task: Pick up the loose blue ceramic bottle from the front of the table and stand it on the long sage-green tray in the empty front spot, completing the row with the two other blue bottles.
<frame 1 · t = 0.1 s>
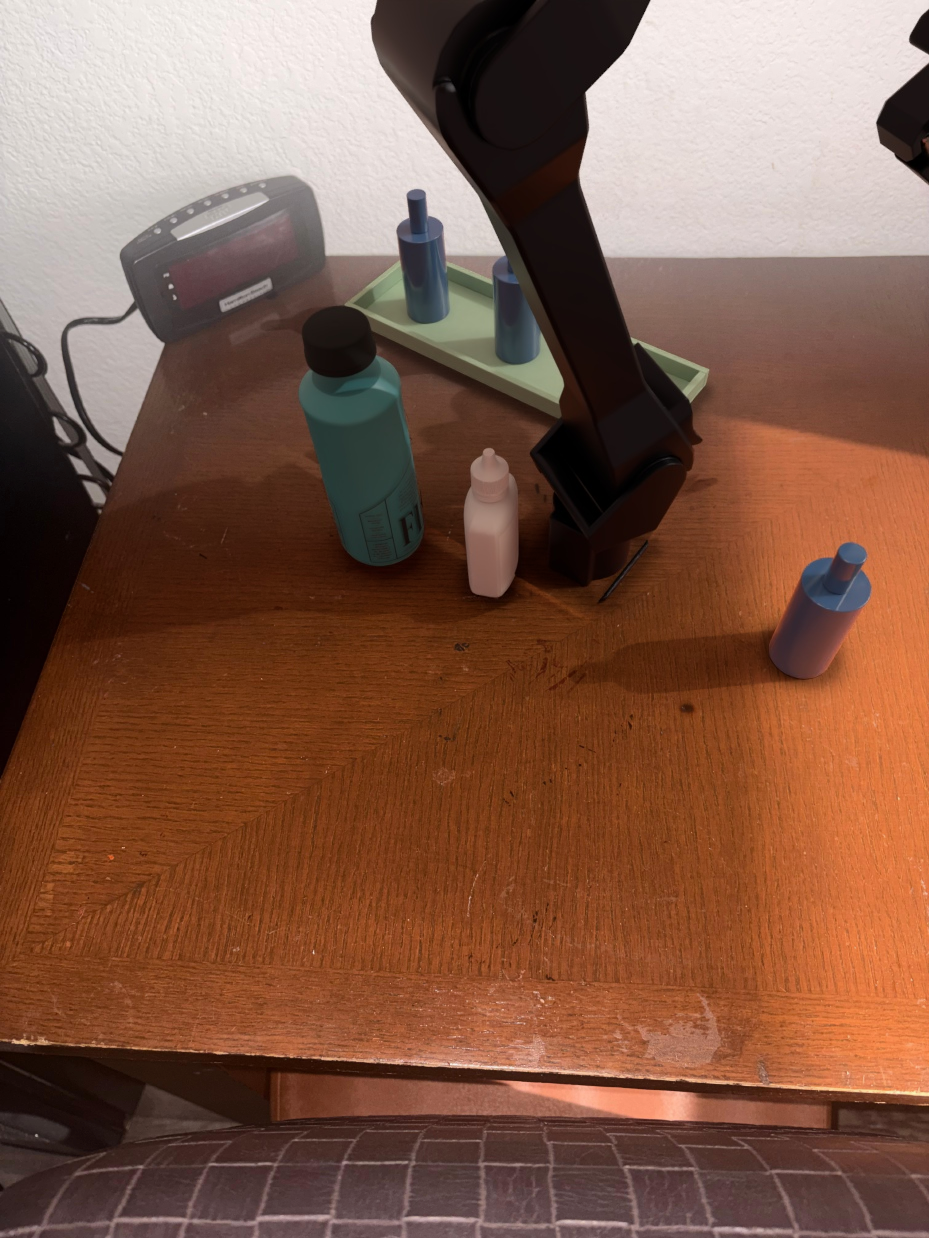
beverage bottle: (385, 547, 64), on the table
blue bottle middle: (517, 349, 74), point 1 cm above the table, touching tray
blue bottle back: (428, 310, 78), point 1 cm above the table, touching tray
blue bottle front: (799, 653, 57), on the table
tray: (517, 356, 75), on the table
eye dropper bottle: (494, 570, 62), on the table
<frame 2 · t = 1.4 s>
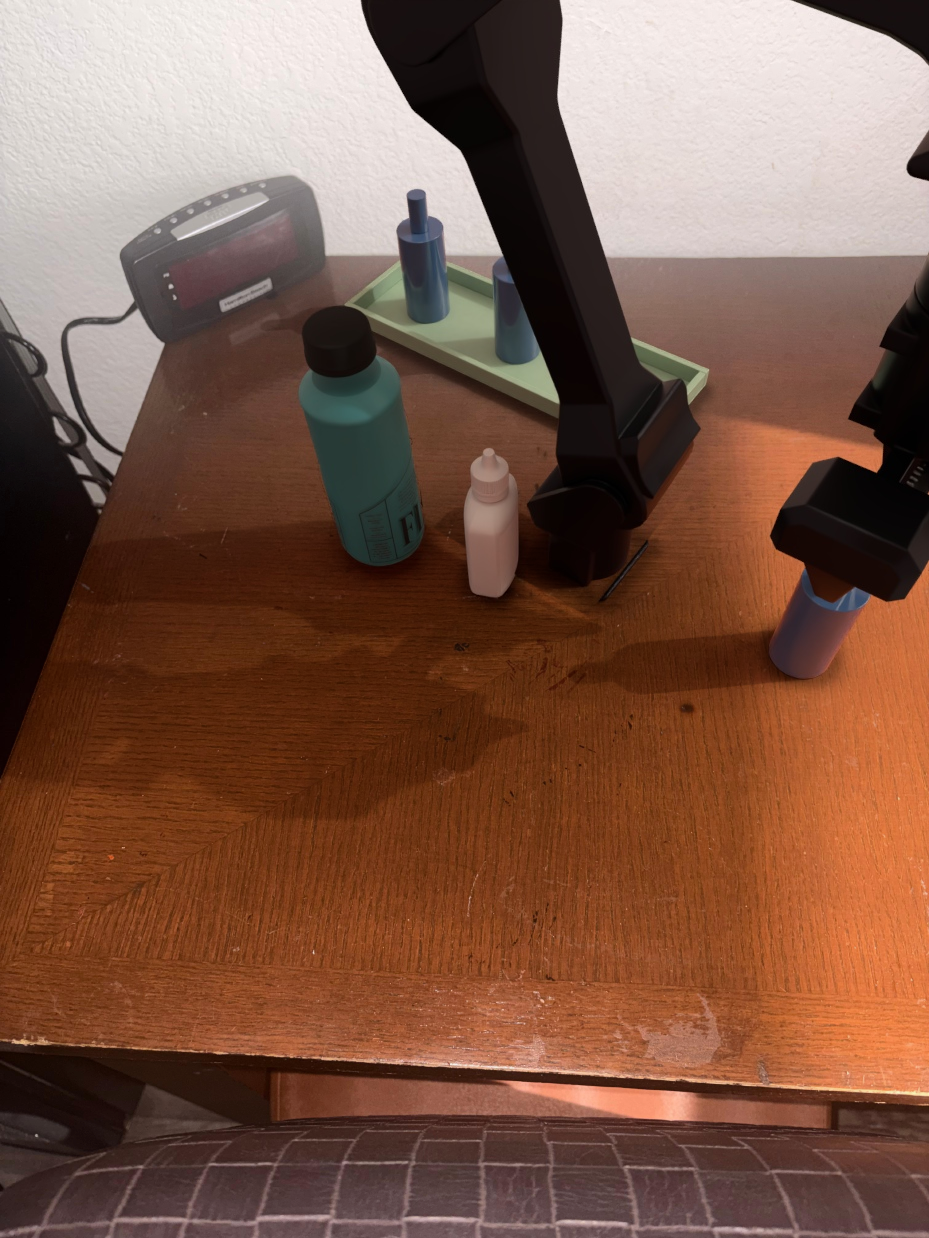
hand: (859, 541, 47), 12 cm above the table, tool pointing down, fingers open, 9 cm apart
nothing on the table moved.
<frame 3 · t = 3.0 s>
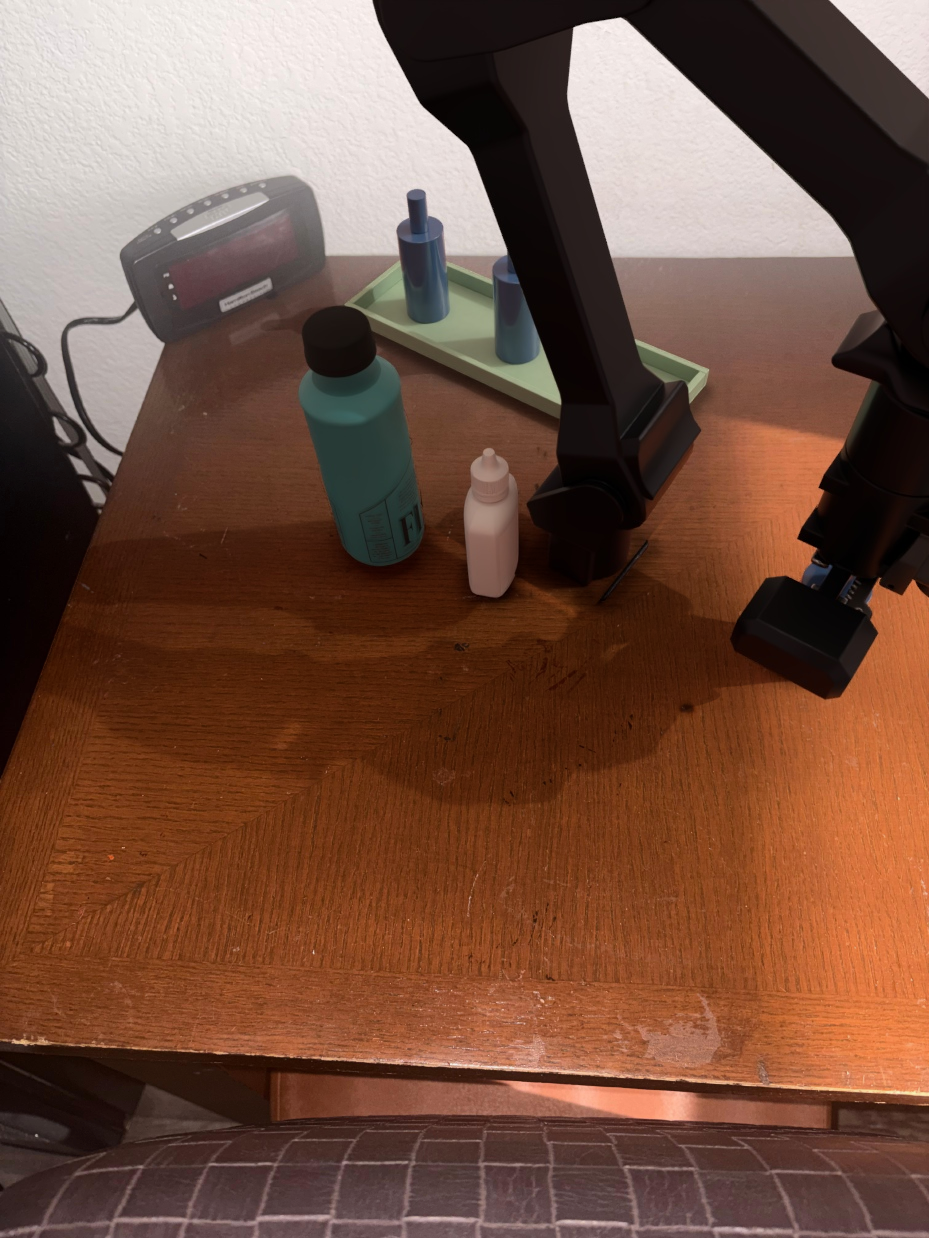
hand: (816, 628, 54), 3 cm above the table, tool pointing down, fingers closed on blue bottle front, 6 cm apart
blue bottle front: (799, 653, 57), on the table, touching gripper
everything else where it was.
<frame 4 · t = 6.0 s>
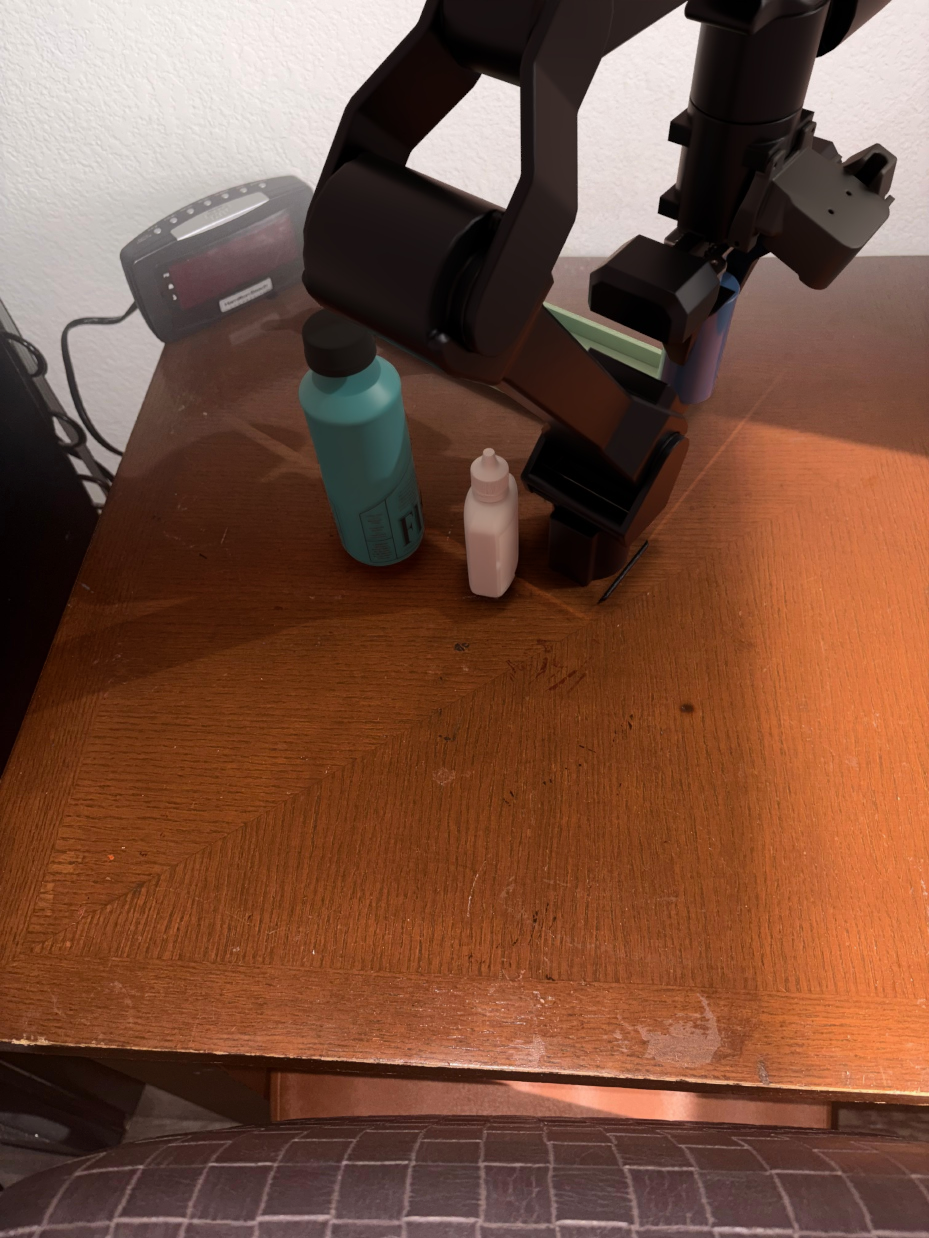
hand: (694, 345, 56), 12 cm above the table, tool pointing down, fingers closed on blue bottle front, 4 cm apart
blue bottle front: (684, 385, 59), point 9 cm above the table, touching gripper
everything else where it was.
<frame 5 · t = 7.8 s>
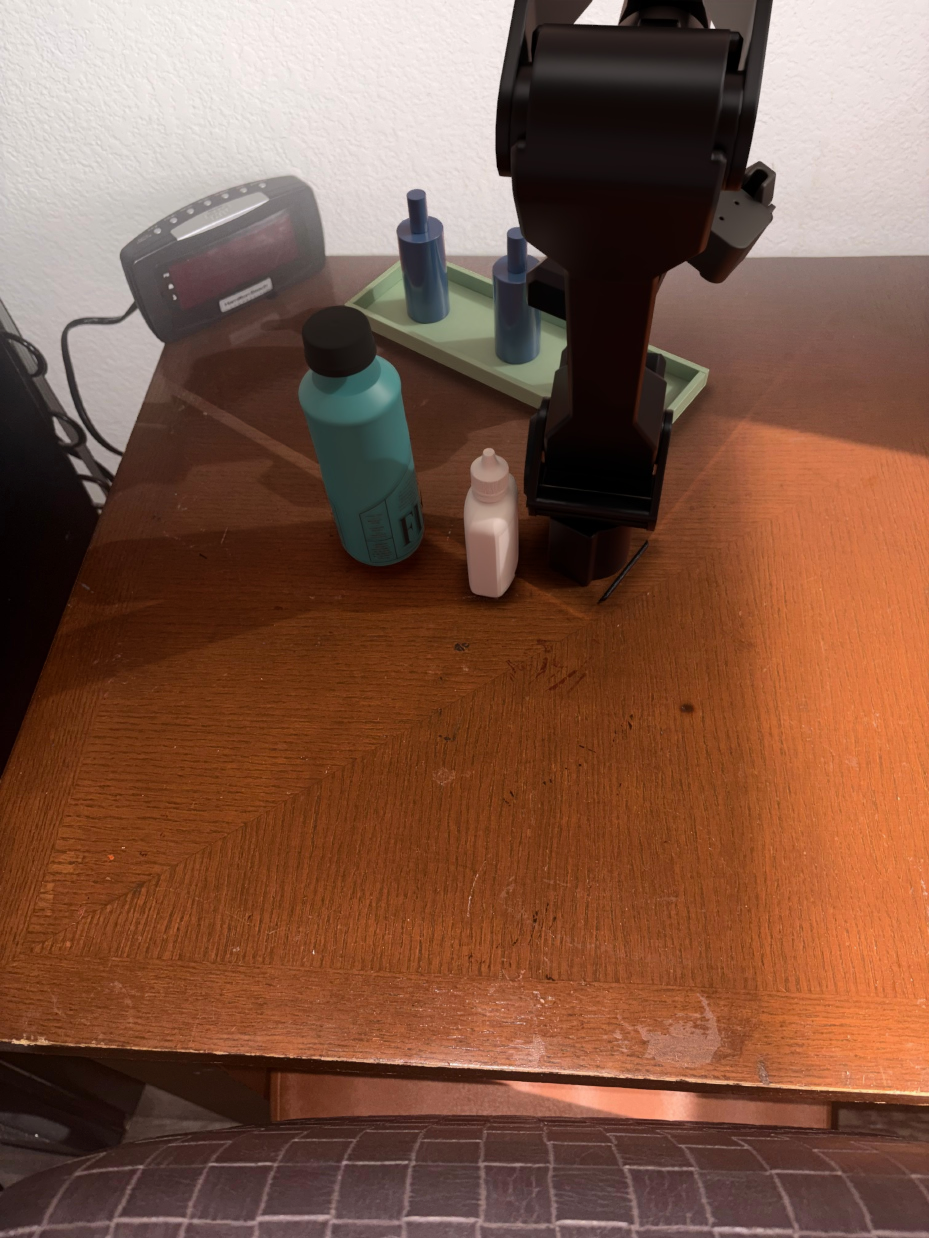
hand: (623, 334, 65), 7 cm above the table, tool pointing down, fingers closed on blue bottle front, 4 cm apart
blue bottle front: (617, 369, 68), point 3 cm above the table, touching gripper
everything else where it was.
when the fingers open (4 cm above the table, at t = 9.2 s): blue bottle front stays where it is, resting on tray.
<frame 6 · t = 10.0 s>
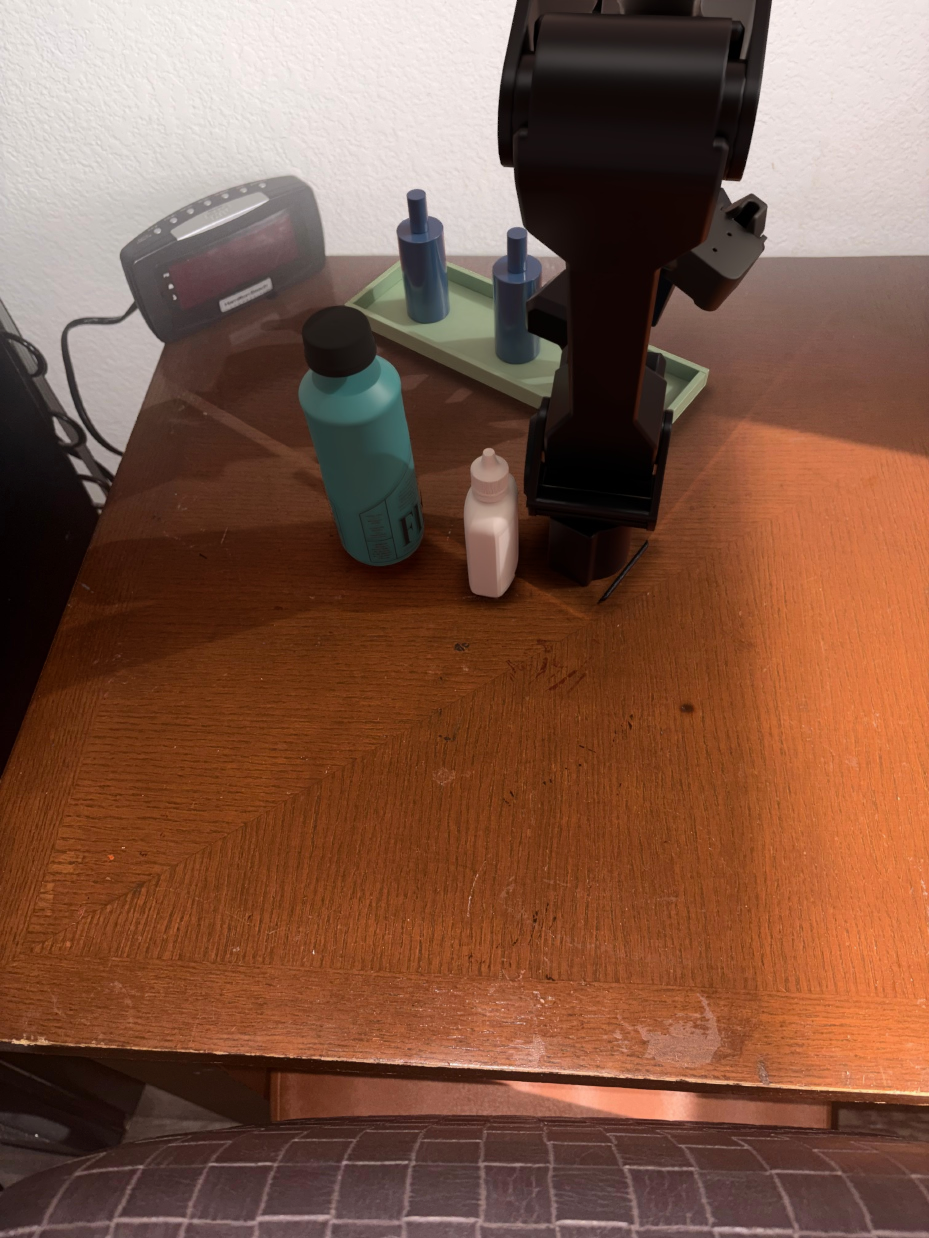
hand: (620, 356, 67), 5 cm above the table, tool pointing down, fingers open, 9 cm apart
blue bottle front: (614, 393, 70), point 1 cm above the table, touching tray
everything else where it was.
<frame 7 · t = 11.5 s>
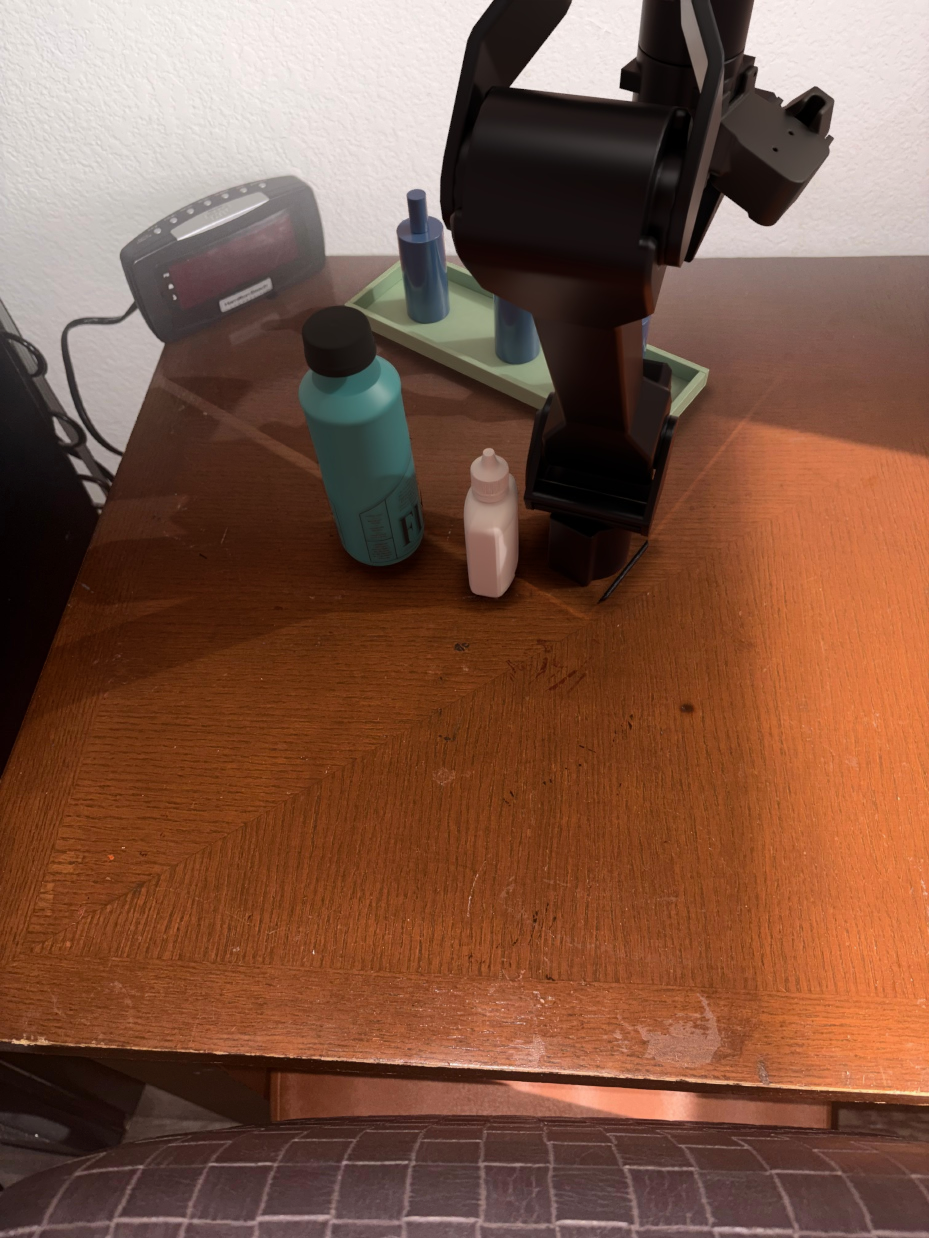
hand: (653, 294, 59), 12 cm above the table, tool pointing down, fingers open, 9 cm apart
nothing on the table moved.
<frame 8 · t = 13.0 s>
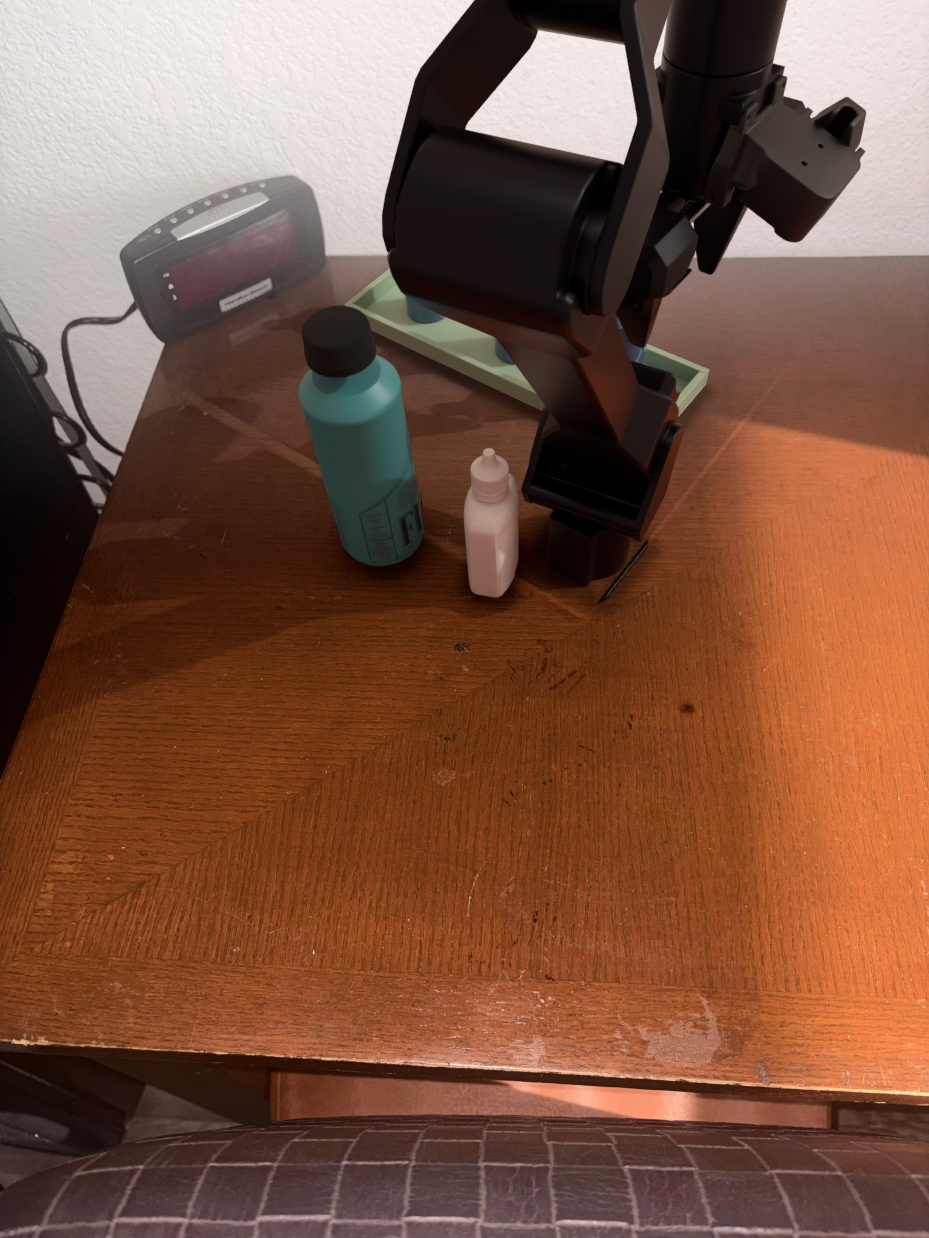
hand: (673, 307, 57), 13 cm above the table, tool pointing down, fingers open, 9 cm apart
nothing on the table moved.
at the end: blue bottle front 0.1 cm from the target spot in the tray, point 0.8 cm above the tray's base; blue bottle front tilted 0°; the gripper is holding nothing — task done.
